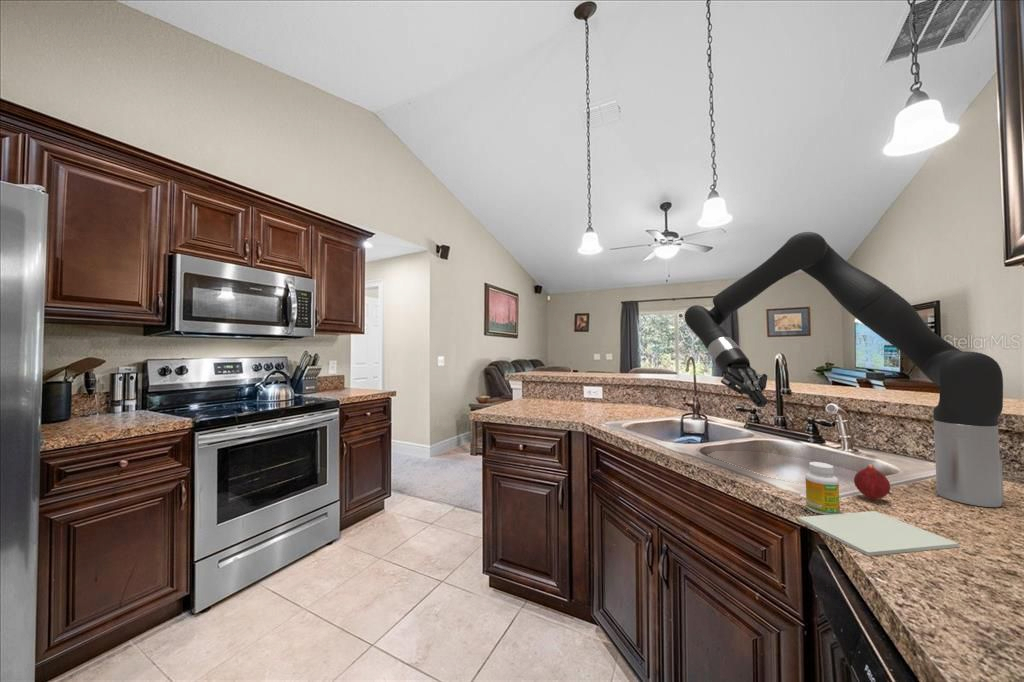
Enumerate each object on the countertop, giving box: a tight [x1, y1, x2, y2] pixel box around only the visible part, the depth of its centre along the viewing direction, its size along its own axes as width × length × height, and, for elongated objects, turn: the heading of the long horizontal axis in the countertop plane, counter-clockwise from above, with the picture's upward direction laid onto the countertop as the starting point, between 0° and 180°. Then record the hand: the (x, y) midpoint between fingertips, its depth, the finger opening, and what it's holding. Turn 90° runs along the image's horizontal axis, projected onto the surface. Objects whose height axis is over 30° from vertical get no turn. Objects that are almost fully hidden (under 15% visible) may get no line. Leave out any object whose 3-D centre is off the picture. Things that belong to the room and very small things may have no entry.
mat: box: [797, 510, 960, 557], centre depth 69 cm, size 18×13×1 cm
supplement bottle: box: [805, 461, 841, 515], centre depth 78 cm, size 5×5×10 cm
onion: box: [853, 463, 891, 501], centre depth 83 cm, size 6×6×8 cm
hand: (763, 405), depth 93 cm, fingers closed
